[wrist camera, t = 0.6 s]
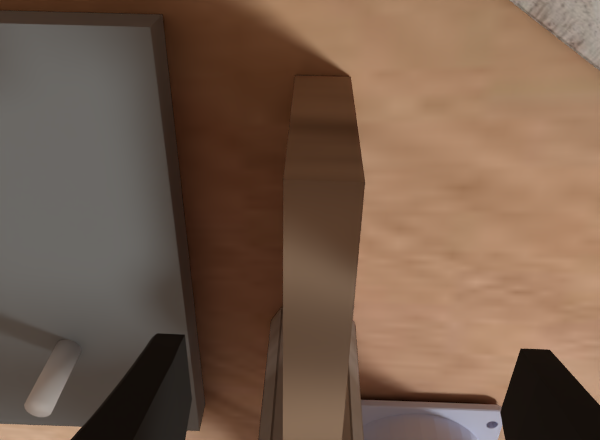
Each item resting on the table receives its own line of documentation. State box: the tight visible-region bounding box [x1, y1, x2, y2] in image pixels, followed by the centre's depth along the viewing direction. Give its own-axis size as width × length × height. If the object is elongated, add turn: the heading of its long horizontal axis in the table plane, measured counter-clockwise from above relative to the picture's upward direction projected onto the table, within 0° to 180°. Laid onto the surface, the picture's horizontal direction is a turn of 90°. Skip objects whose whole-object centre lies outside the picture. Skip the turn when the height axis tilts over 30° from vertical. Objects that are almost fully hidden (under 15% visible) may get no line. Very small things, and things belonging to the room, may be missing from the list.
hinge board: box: [0, 10, 205, 431], centre depth 21 cm, size 18×10×4 cm, turn 179°
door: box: [258, 75, 365, 440], centre depth 19 cm, size 13×4×7 cm, turn 179°
